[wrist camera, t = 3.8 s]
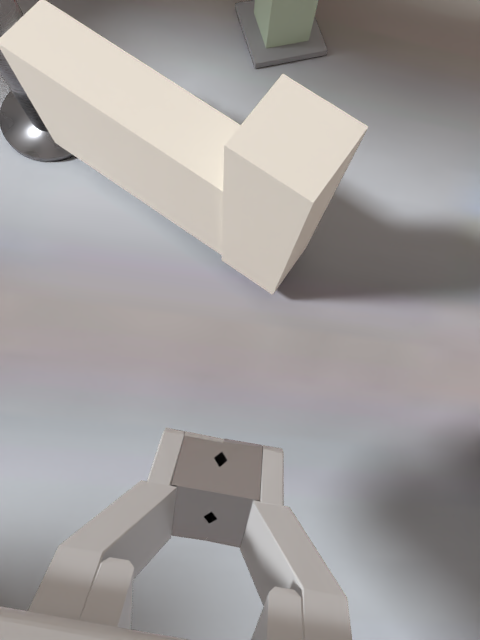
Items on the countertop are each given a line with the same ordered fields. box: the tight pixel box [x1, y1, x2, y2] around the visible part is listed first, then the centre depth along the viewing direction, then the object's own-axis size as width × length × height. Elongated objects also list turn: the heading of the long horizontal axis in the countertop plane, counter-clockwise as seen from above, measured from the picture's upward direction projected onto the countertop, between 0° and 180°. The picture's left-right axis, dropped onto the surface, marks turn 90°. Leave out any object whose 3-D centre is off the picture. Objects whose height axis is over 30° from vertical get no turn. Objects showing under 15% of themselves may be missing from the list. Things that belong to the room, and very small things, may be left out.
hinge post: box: [0, 0, 74, 162], centre depth 23 cm, size 6×6×8 cm
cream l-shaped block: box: [0, 0, 368, 295], centre depth 20 cm, size 16×4×10 cm, turn 55°
